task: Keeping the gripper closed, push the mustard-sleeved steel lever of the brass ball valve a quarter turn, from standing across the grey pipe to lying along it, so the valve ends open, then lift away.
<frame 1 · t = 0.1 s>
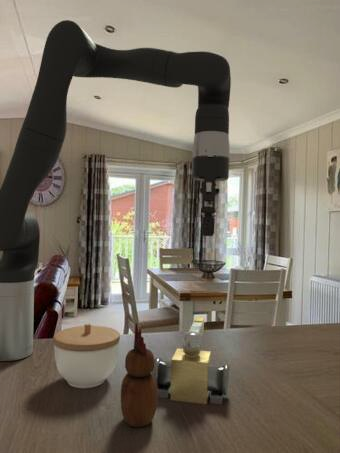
hand: (208, 235, 79), 29 cm above the kitchen counter, tool pointing down, fingers open, 8 cm apart
lidded bowl: (86, 381, 75), on the kitchen counter
wooden figurine: (138, 422, 60), on the kitchen counter
ball valve: (190, 394, 70), on the kitchen counter
lever: (195, 334, 75), point 10 cm above the kitchen counter, hinge at 90.0°
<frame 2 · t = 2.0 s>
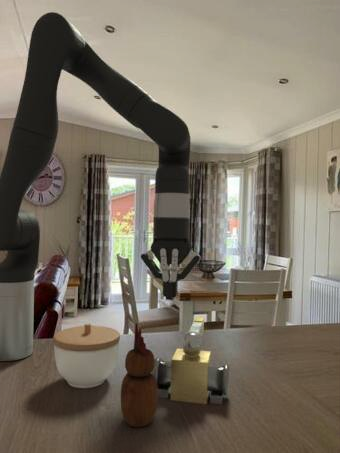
hand: (170, 299, 79), 15 cm above the kitchen counter, tool pointing down, fingers closed
nothing on the kitchen counter moved.
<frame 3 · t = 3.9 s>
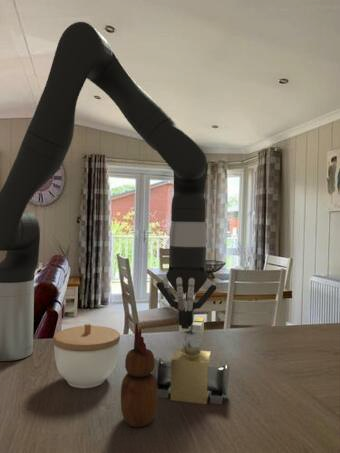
hand: (185, 327, 79), 10 cm above the kitchen counter, tool pointing down, fingers closed
lever: (195, 334, 75), point 10 cm above the kitchen counter, hinge at 90.0°, touching gripper
everything else where it was.
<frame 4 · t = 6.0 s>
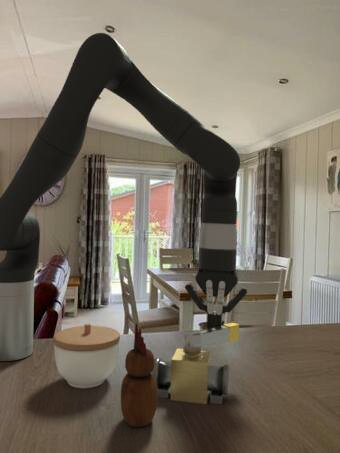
hand: (214, 331, 77), 9 cm above the kitchen counter, tool pointing down, fingers closed
lever: (211, 337, 73), point 10 cm above the kitchen counter, hinge at 50.8°, touching gripper
everything else where it was.
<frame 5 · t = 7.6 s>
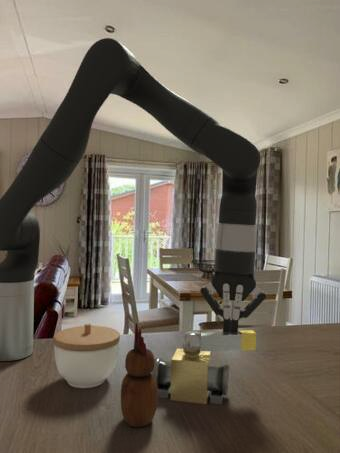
hand: (230, 337, 73), 9 cm above the kitchen counter, tool pointing down, fingers closed
lever: (219, 341, 71), point 10 cm above the kitchen counter, hinge at 21.8°, touching gripper
everything else where it was.
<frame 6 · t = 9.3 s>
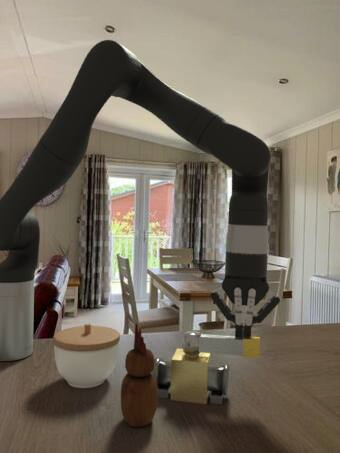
hand: (242, 344, 70), 9 cm above the kitchen counter, tool pointing down, fingers closed
lever: (220, 344, 69), point 10 cm above the kitchen counter, hinge at 1.2°, touching gripper
everything else where it was.
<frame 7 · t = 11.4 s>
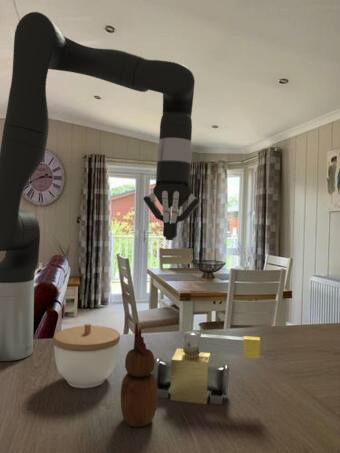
hand: (169, 239, 84), 27 cm above the kitchen counter, tool pointing down, fingers closed
lever: (220, 344, 69), point 10 cm above the kitchen counter, hinge at 1.1°
everything else where it was.
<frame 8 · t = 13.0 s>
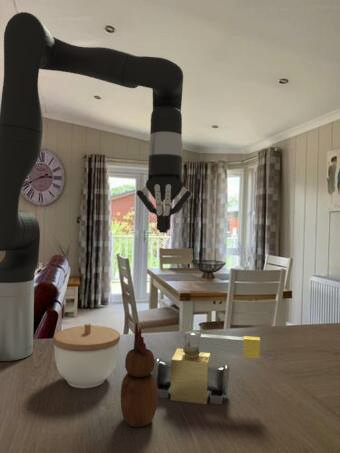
hand: (163, 232, 86), 29 cm above the kitchen counter, tool pointing down, fingers closed
nothing on the kitchen counter moved.
at the end: lever at +1° (first picture: +90°); lidded bowl moved 0.2 cm from its start; wooden figurine moved 0.2 cm from its start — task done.
